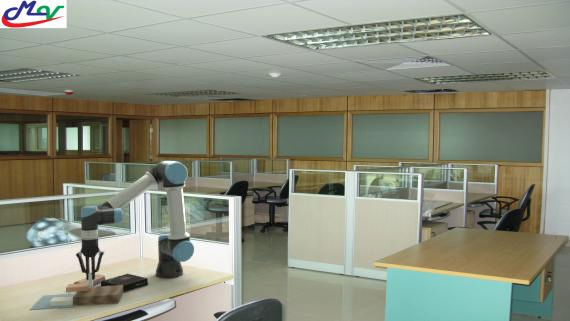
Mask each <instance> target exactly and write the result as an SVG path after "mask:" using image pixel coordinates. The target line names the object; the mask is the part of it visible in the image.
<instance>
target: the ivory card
mask: <svg viewBox="0 0 570 321" xmlns="http://www.w3.org/2000/svg"><path fill="white" fill-rule="evenodd" d="M73 297H74V296H69V297H53V298H52V299H51V300H50V306H63V305H73Z"/></svg>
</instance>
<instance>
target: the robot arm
mask: <svg viewBox="0 0 570 321" xmlns="http://www.w3.org/2000/svg"><path fill="white" fill-rule="evenodd" d="M188 173H189V172H188V168H187V167H186V165H184V163H182V162H179V161H177V160H176V161H175V160H163V161H160V162H158V163H157V164H155V165H154V166H152V167H151V168H150V169H147V170H146V171H145V174H144V175H143V176H141V177H140V178H138V179H137V180H135V181H134V182H132V183H131V184H129V185H128V186H127V187H125V188H124V189H123V190H121V191H119V192H118V193H117V194H115V195H114V196H112V197H111V198H109V199H108V200H106V201H105V202H103V203H102V204H98V205H86V206H82V207H81V210H80V222H81V223H80V226H81V231H80V232H81V249H80V251H78V252H77V253H76V254H75V256H76V257H77V259H78V262H79V267H80V269H81V270H80V271H81V273H84V274H85V278H86V280H89V287H92V286H93V280H94V279H95V275H96V273H98V272H99V271H100V267H101V263H102V258H103V256H104V254H105V251H103V250H101V249H100V248H99V238H98V237H99V226H103V225H112V224H120V223H122V222H123V221H124V211H123V210H122V209H123V208H124V207H125V206H127V205H128V204H130V203H131V202H133V201H134V200H136V199H137V198H138V197H141V195H143V194H144V193H145V192H147V191H149V190H150V189H152V188H153V187H157V186H159V185H160V184H162V188H163V189H165V192H166V200H167V211H168V224H169V233H164V234H159V236H158V240H157V245H158V248H157V249H158V254H157V255H158V263H157V266H156V269H155V276H156V277H158V278H164V279H167V278H169V279H170V278H176V277H180V276H183V274H184V268H183V265H182V263H184V262H187V261H189V260H190V259H191V258H192V257H193V255H194V253H195V246H194V244H193V242H192V241H191V237H190V233H188V232H187V224H186V222H187V221H186V214H185V213H186V212H185V200H184V191H183V189H184V187H185V186H186V180H187V179H188V175H189V174H188ZM97 255H98V259H97V263H96V256H97ZM83 256H84V257H85V263H84V259H83ZM90 262H91V264H90ZM90 265H91V267H90ZM90 268H91V270H90Z"/></svg>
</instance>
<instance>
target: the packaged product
mask: <svg viewBox="0 0 570 321" xmlns="http://www.w3.org/2000/svg"><path fill="white" fill-rule="evenodd" d="M103 280H106V277H105V275H104V274H95V279H94V280H93V286H92V287H100V286H101V281H103ZM80 283H89V280H86V277H85V278H82V279H79V280H76V281H75V282H73V284H80Z"/></svg>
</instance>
